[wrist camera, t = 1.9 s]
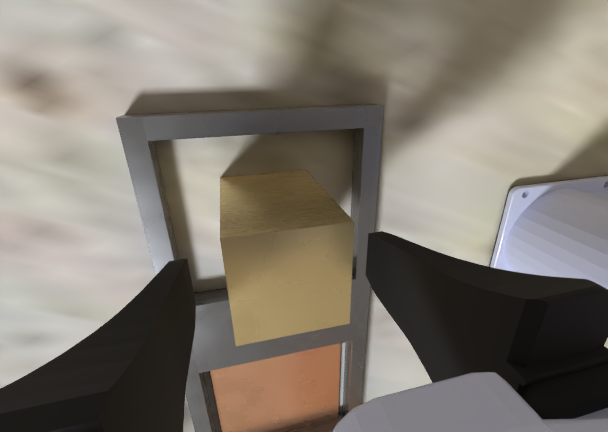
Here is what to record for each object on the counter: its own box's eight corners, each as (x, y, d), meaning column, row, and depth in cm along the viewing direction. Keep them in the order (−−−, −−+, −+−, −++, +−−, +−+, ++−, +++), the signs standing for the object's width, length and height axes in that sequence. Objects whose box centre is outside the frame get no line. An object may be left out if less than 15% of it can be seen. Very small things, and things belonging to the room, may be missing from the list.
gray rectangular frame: (373, 104, 16) (384, 105, 15) (353, 417, 26) (359, 431, 25) (124, 115, 14) (115, 117, 13) (206, 456, 24) (205, 473, 23)
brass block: (305, 169, 17) (354, 221, 11) (306, 242, 19) (349, 323, 13) (220, 177, 16) (220, 238, 10) (230, 253, 18) (235, 346, 12)
